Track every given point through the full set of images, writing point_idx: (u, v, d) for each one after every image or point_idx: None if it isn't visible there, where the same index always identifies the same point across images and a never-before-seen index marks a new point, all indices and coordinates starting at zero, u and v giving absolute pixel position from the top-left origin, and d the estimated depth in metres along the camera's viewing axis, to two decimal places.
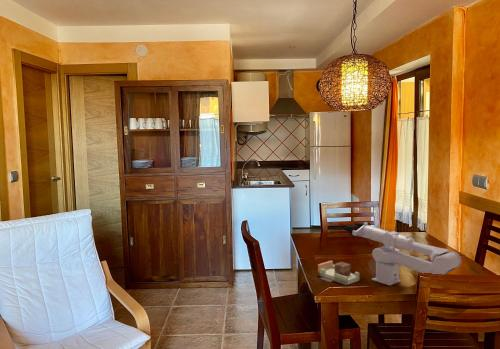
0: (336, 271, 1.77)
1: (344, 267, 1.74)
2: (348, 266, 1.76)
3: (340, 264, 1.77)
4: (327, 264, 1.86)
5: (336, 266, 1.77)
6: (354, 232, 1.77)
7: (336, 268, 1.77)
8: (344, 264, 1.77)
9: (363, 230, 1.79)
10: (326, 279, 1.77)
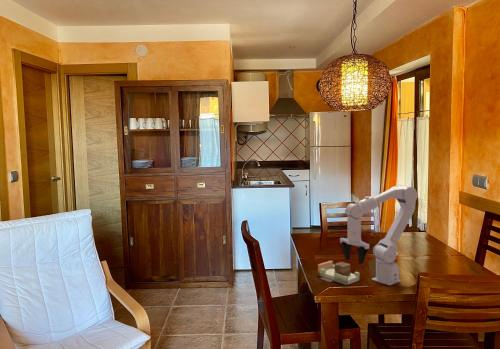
0: (336, 271, 1.77)
1: (344, 267, 1.74)
2: (348, 266, 1.76)
3: (340, 264, 1.77)
4: (327, 264, 1.86)
5: (336, 266, 1.77)
6: (367, 246, 1.64)
7: (336, 268, 1.77)
8: (344, 264, 1.77)
9: (357, 241, 1.68)
10: (326, 279, 1.77)
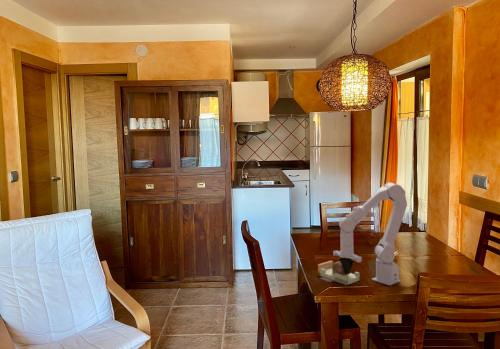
0: (334, 270, 1.78)
1: (342, 266, 1.75)
2: None
3: (338, 263, 1.78)
4: (327, 264, 1.86)
5: (334, 265, 1.78)
6: (359, 259, 1.68)
7: (334, 267, 1.78)
8: None
9: (350, 254, 1.72)
10: (326, 279, 1.77)
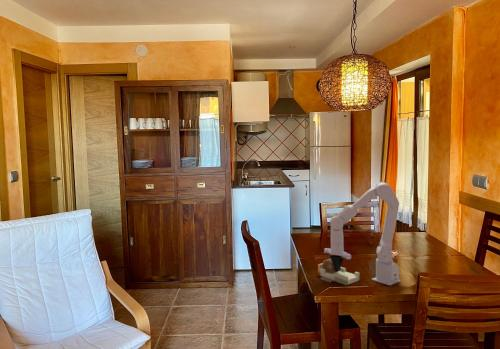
0: (325, 267, 1.83)
1: (332, 263, 1.80)
2: None
3: (328, 260, 1.82)
4: None
5: (325, 262, 1.82)
6: (349, 256, 1.73)
7: (325, 264, 1.83)
8: None
9: (340, 251, 1.76)
10: (326, 279, 1.77)
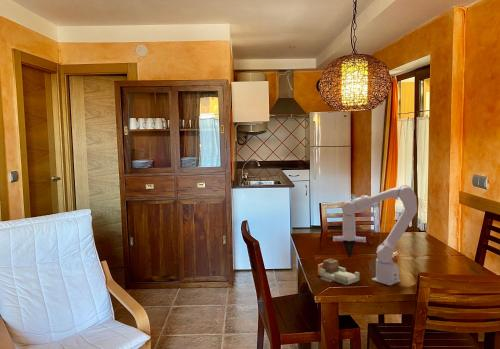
0: (325, 267, 1.83)
1: (332, 263, 1.80)
2: (336, 262, 1.81)
3: (328, 260, 1.82)
4: None
5: (325, 262, 1.82)
6: (365, 239, 1.75)
7: (325, 264, 1.83)
8: (332, 260, 1.82)
9: (355, 236, 1.76)
10: (326, 279, 1.77)
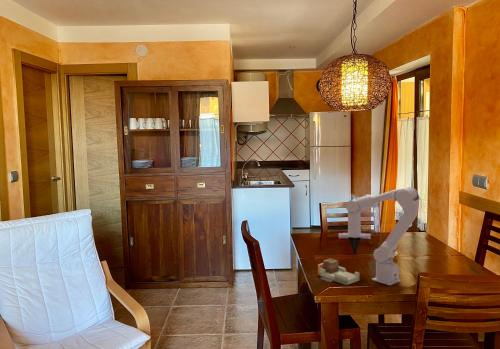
0: (325, 267, 1.83)
1: (332, 263, 1.80)
2: (336, 262, 1.81)
3: (328, 260, 1.82)
4: None
5: (325, 262, 1.82)
6: (370, 236, 1.81)
7: (325, 264, 1.83)
8: (332, 260, 1.82)
9: (360, 233, 1.81)
10: (326, 279, 1.77)
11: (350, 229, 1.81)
